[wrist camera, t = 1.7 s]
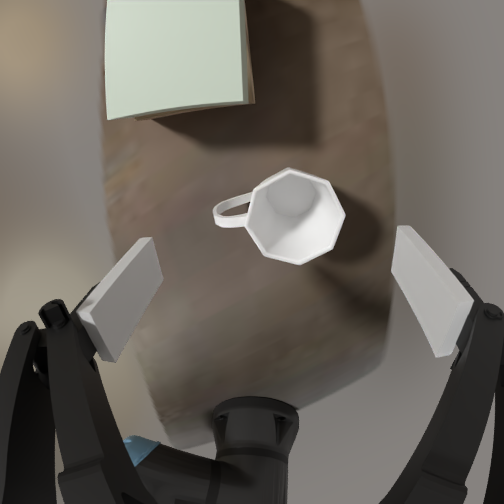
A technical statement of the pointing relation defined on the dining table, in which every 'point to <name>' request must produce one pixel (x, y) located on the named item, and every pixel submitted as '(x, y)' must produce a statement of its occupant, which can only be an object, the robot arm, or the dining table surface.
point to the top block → (174, 55)
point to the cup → (288, 216)
